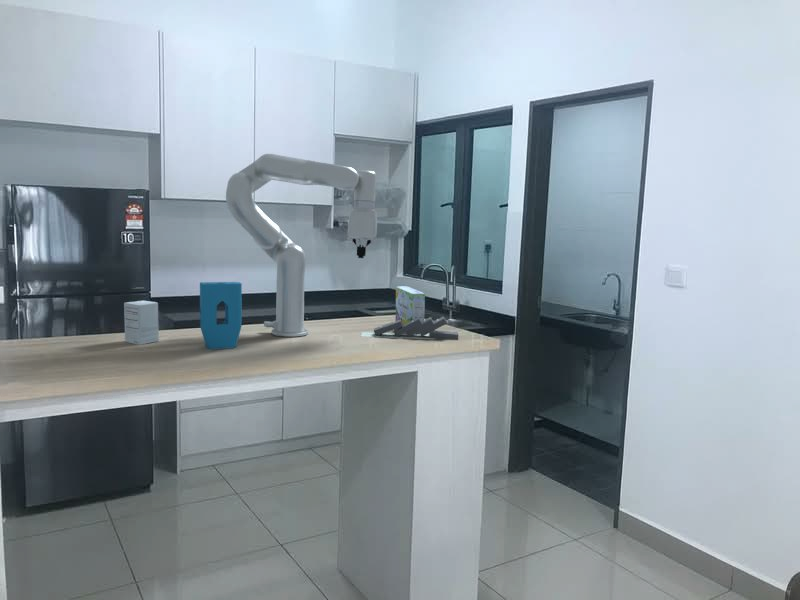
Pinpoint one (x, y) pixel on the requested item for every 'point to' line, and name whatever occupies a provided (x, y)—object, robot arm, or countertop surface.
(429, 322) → the domino
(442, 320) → the domino
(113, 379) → the countertop surface
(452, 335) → the domino
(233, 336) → the block
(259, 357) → the countertop surface
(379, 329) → the domino
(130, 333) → the supplement box
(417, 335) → the mat
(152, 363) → the countertop surface
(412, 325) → the domino
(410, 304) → the snack box
